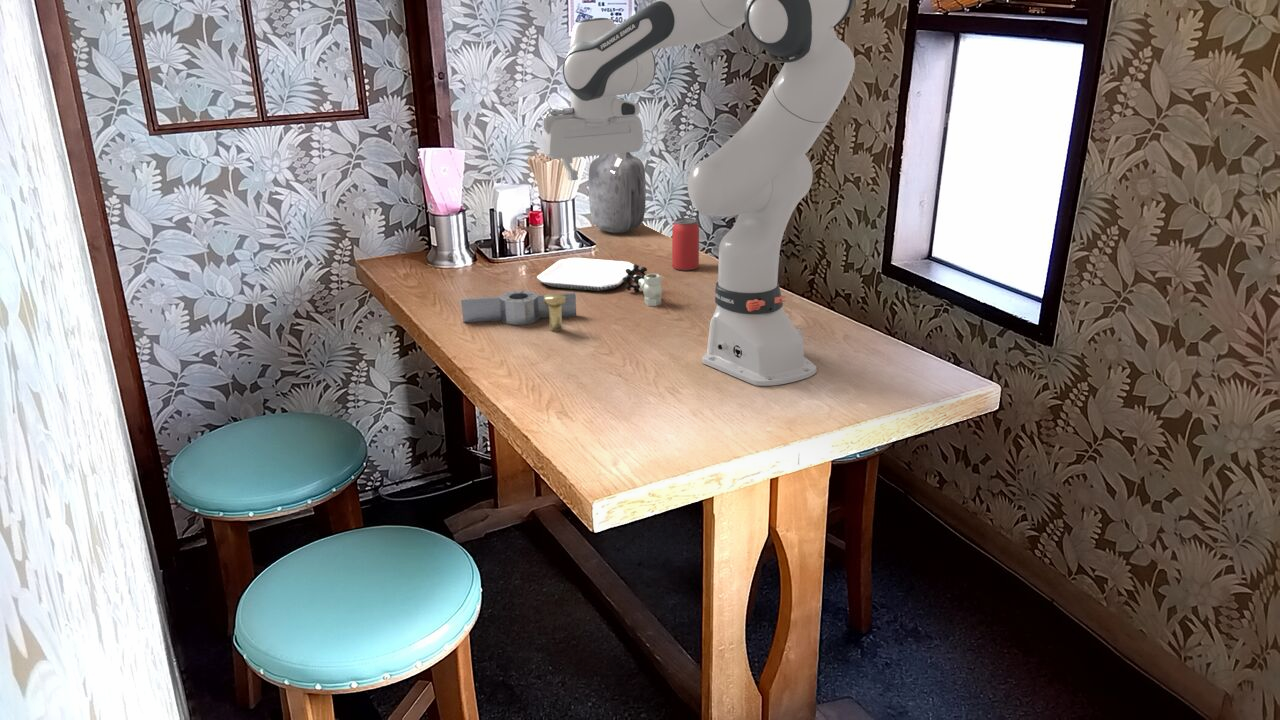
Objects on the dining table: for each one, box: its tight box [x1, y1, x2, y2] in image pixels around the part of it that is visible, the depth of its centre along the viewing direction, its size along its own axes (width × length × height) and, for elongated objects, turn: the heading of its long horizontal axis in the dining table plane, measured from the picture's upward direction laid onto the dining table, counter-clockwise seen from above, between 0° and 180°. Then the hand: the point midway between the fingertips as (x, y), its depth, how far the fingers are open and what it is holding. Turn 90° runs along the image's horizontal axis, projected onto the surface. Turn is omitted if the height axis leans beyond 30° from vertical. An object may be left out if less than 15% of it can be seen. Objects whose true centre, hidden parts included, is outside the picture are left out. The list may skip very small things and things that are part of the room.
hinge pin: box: [544, 292, 566, 333], centre depth 196 cm, size 4×4×7 cm
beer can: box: [671, 217, 700, 272], centre depth 235 cm, size 7×7×12 cm
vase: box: [588, 152, 647, 234], centre depth 266 cm, size 16×16×30 cm
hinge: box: [460, 289, 577, 326], centre depth 202 cm, size 24×8×5 cm, turn 98°
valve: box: [622, 263, 663, 307], centre depth 214 cm, size 7×7×12 cm
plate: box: [536, 257, 635, 292], centre depth 229 cm, size 21×21×2 cm
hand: (594, 177), depth 190 cm, fingers open, 8 cm apart
